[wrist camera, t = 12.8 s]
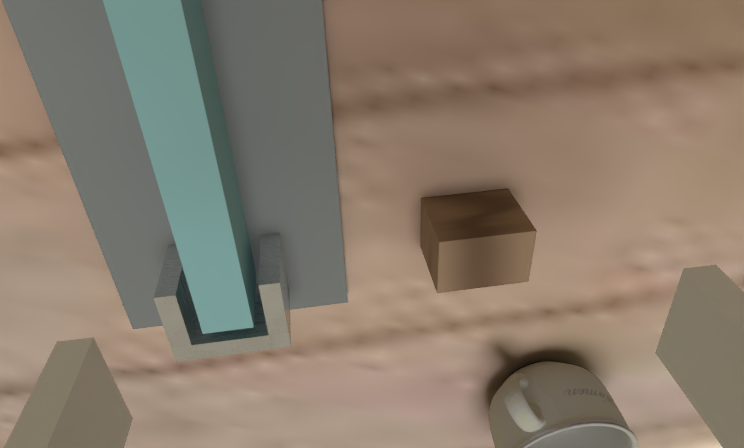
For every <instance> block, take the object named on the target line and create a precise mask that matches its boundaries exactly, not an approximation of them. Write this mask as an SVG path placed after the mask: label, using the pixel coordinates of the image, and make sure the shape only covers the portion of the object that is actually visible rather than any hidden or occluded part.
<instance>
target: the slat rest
mask: <svg viewBox="0 0 744 448" xmlns="http://www.w3.org/2000/svg"><path fill="white" fill-rule="evenodd" d="M536 232H537V231H536V229H535V228H534V226H533V225H532V223H531V222H530V220H529V219H528V217H527V216H526V214H525V213H524V211H523V210H522V209H521V207H520V206H519V204H518V203H517V201H516V200H515V198H514V197H513V195H512V194H511V192H510V191H509V189H503V190H494V191H484V192H475V193H466V194H457V195H448V196H438V197H429V198H421V245H420V246H421V249H422V252H423V255H424V258H425V260H426V263H427V266H428V269H429V271H430V274H431V277H432V280H433V283H434V285H435V288H436V291H437V293H441V292H449V291H457V290H465V289H473V288H481V287H489V286H497V285H505V284H513V283H521V282H528V281H529V275H530V269H531V263H532V257H533V250H534V244H535V238H536Z"/></svg>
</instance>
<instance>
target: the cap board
mask: <svg viewBox="0 0 744 448" xmlns="http://www.w3.org/2000/svg"><path fill="white" fill-rule="evenodd" d="M200 1H201V5H202V10H203V15H204V20H205V25H206V30H207V35H208V40H209V45H210V50H211V54H212V59H213V64H214V69H215V74H216V79H217V84H218V89H219V94H220V99H221V103H222V108H223V113H224V118H225V123H226V128H227V133H228V138H229V143H230V148H231V153H232V157H233V162H234V167H235V172H236V177H237V182H238V187H239V192H240V197H241V202H242V206H243V211H244V216H245V221H246V226H247V231H248V236H249V241H250V246H251V251H252V255H253V260H254V265H255V270H256V284H259V262H260V240H261V235H264V234H273V233H280V239H281V245H282V251H283V257H284V263H285V269H286V275H287V281H288V287H289V294H290V309H298V308H306V307H314V306H322V305H330V304H338V303H346V302H348V298H347V286H346V275H345V263H344V251H343V239H342V228H341V216H340V204H339V192H338V181H337V169H336V157H335V146H334V134H333V122H332V110H331V99H330V87H329V75H328V64H327V52H326V40H325V28H324V17H323V5H322V0H200ZM2 2H3V4H4V7H5V9H6V12H7V14H8V17H9V19H10V22H11V24H12V27H13V29H14V32H15V34H16V37H17V40H18V42H19V45H20V47H21V50H22V52H23V55H24V57H25V60H26V62H27V65H28V67H29V70H30V72H31V75H32V77H33V80H34V82H35V85H36V87H37V90H38V92H39V95H40V97H41V100H42V102H43V105H44V107H45V110H46V112H47V115H48V117H49V120H50V122H51V125H52V127H53V130H54V132H55V135H56V137H57V140H58V142H59V145H60V147H61V150H62V152H63V155H64V157H65V160H66V162H67V165H68V167H69V170H70V172H71V175H72V177H73V180H74V182H75V185H76V187H77V190H78V192H79V195H80V197H81V200H82V202H83V205H84V207H85V210H86V212H87V215H88V217H89V220H90V223H91V225H92V228H93V230H94V233H95V235H96V238H97V240H98V243H99V245H100V248H101V250H102V253H103V255H104V258H105V260H106V263H107V265H108V268H109V270H110V273H111V275H112V278H113V280H114V283H115V285H116V288H117V290H118V293H119V295H120V298H121V300H122V303H123V305H124V308H125V310H126V313H127V315H128V318H129V320H130V323H131V325H132V328H133V329H138V328H146V327H154V326H162V325H163V324H162V321H161V318H160V315H159V312H158V310H157V307H156V304H155V301H154V294H155V291H156V287H157V284H158V280H159V276H160V273H161V269H162V265H163V262H164V258H165V255H166V251H167V247H168V245H175V244H176V243H175V240H174V236H173V233H172V230H171V226H170V223H169V220H168V216H167V213H166V210H165V206H164V203H163V200H162V196H161V193H160V190H159V186H158V183H157V180H156V176H155V173H154V170H153V166H152V163H151V160H150V156H149V153H148V150H147V146H146V143H145V140H144V136H143V133H142V130H141V126H140V123H139V120H138V116H137V113H136V110H135V106H134V103H133V100H132V96H131V93H130V90H129V86H128V83H127V80H126V76H125V73H124V70H123V66H122V63H121V59H120V56H119V53H118V49H117V46H116V43H115V39H114V36H113V33H112V29H111V26H110V23H109V19H108V16H107V13H106V9H105V6H104V3H103V0H2Z"/></svg>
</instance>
